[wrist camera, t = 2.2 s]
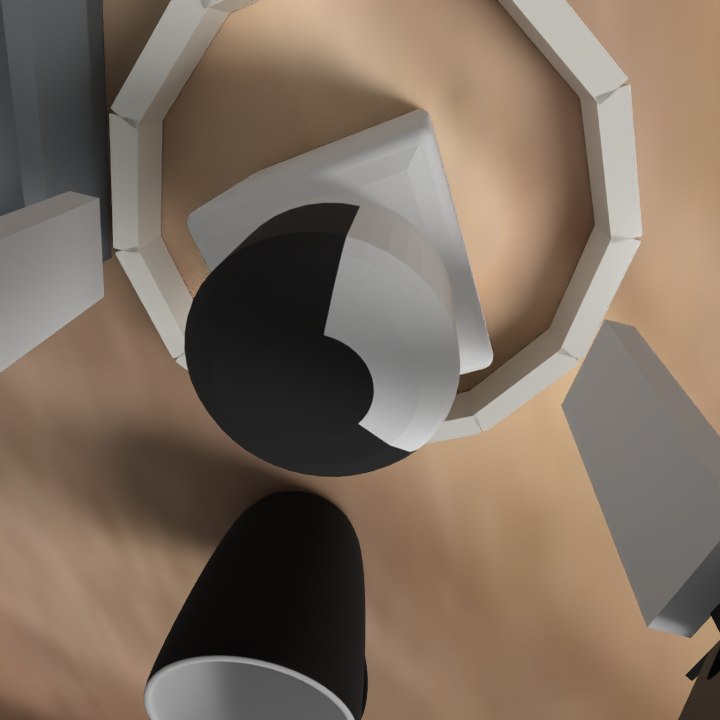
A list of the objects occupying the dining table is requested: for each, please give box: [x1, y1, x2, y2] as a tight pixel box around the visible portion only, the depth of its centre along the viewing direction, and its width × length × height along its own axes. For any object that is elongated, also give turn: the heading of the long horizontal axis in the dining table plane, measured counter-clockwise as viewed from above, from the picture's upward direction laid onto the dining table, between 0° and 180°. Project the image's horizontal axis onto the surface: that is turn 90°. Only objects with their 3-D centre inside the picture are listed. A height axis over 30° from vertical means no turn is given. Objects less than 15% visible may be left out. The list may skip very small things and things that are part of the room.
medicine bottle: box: [184, 109, 493, 477], centre depth 16 cm, size 7×7×12 cm
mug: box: [144, 492, 368, 720], centre depth 26 cm, size 12×9×10 cm
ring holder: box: [109, 0, 642, 444], centre depth 20 cm, size 19×19×2 cm
